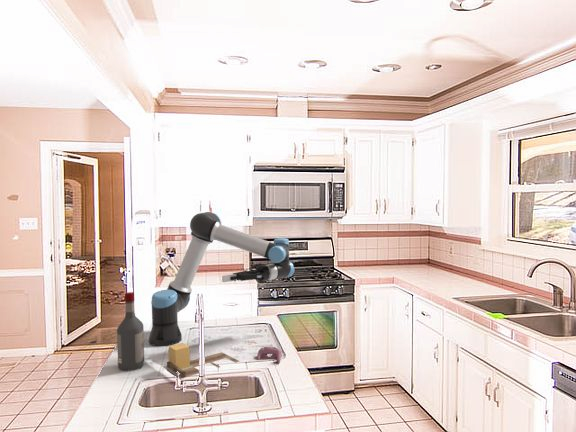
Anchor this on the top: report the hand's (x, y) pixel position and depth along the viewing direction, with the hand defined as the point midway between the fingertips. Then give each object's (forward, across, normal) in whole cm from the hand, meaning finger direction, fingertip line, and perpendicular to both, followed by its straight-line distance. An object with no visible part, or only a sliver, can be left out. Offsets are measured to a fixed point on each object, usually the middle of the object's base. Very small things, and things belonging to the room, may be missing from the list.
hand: (223, 279), depth 196 cm
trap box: (+16, -12, -32) cm, 38 cm away
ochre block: (+25, -8, -30) cm, 40 cm away
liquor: (+38, +9, -32) cm, 51 cm away
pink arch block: (-7, -24, -32) cm, 41 cm away
